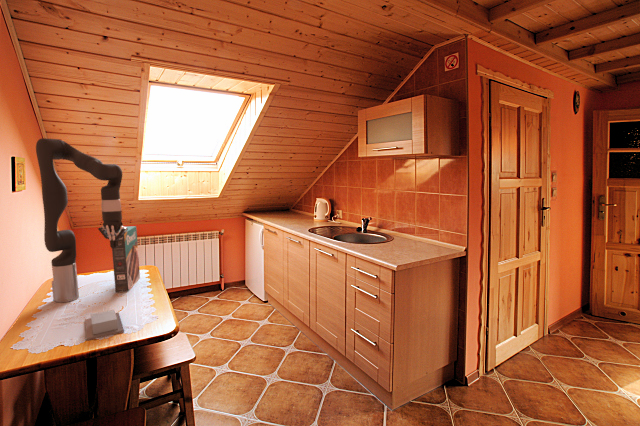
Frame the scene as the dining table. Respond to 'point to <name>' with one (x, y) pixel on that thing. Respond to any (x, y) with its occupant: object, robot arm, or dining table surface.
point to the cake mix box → (126, 261)
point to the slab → (104, 321)
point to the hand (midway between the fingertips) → (114, 248)
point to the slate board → (90, 332)
